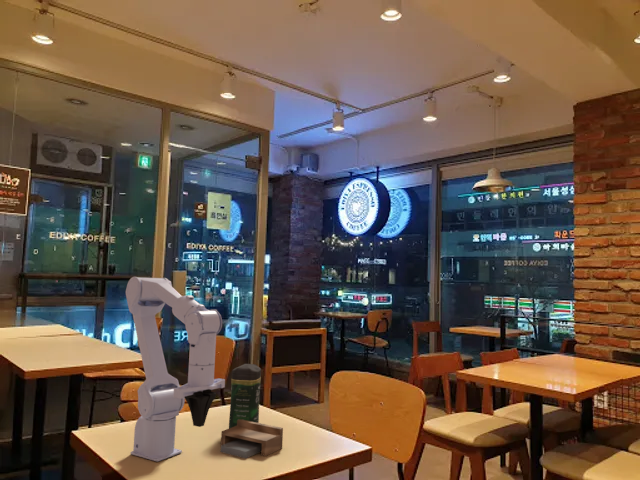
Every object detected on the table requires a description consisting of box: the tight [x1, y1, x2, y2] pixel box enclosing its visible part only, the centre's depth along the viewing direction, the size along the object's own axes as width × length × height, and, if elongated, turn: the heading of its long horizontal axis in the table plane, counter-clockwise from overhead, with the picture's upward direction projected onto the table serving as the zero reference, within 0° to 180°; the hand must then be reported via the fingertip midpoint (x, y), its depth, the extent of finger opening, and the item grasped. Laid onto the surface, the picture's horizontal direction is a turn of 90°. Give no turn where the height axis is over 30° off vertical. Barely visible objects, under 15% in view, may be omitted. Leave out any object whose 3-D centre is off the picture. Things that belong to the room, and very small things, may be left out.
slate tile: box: [220, 439, 262, 459], centre depth 124 cm, size 8×8×2 cm
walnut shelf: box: [220, 419, 284, 457], centre depth 127 cm, size 14×8×5 cm, turn 61°
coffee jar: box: [228, 363, 262, 429], centre depth 141 cm, size 10×8×19 cm
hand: (198, 425), depth 111 cm, fingers closed
